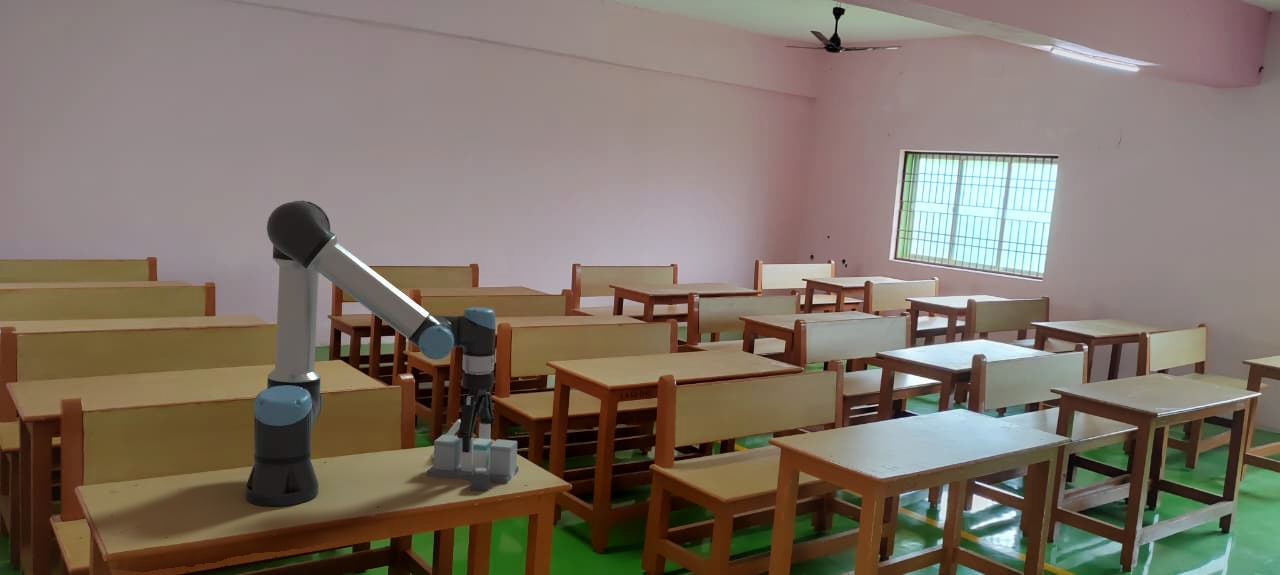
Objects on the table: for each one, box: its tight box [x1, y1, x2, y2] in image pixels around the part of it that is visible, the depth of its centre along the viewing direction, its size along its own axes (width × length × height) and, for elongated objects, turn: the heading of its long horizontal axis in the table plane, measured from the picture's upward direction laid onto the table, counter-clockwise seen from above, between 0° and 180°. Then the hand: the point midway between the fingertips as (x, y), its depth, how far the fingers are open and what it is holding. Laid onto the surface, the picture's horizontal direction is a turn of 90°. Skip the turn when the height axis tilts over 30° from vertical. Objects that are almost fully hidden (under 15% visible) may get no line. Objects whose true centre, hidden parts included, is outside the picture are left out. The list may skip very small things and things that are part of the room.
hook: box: [431, 418, 461, 459], centre depth 240 cm, size 8×12×7 cm
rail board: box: [426, 434, 519, 484], centre depth 227 cm, size 20×10×8 cm, turn 82°
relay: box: [470, 468, 490, 492], centre depth 217 cm, size 4×4×5 cm
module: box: [461, 437, 493, 472], centre depth 227 cm, size 6×5×7 cm
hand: (475, 456), depth 227 cm, fingers open, 13 cm apart
